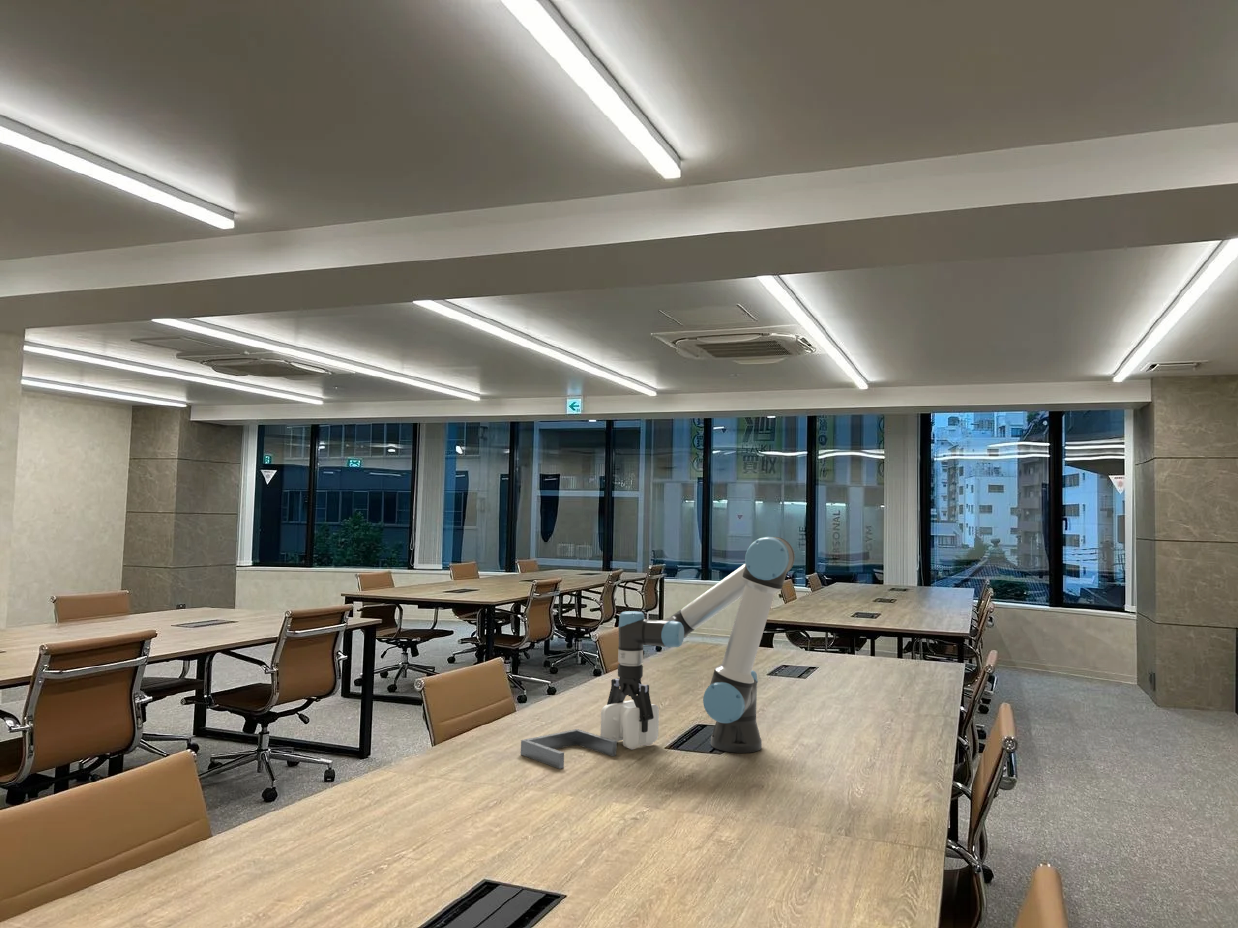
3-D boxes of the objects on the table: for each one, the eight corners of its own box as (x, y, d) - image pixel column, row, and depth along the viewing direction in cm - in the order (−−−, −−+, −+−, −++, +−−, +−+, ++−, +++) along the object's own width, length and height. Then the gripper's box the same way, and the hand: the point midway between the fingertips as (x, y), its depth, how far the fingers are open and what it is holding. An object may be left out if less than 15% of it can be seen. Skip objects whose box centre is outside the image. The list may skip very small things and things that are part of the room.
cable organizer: (624, 752, 240) (625, 711, 241) (598, 744, 248) (599, 704, 248) (658, 743, 251) (659, 703, 252) (632, 736, 258) (633, 698, 259)
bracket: (616, 755, 238) (616, 740, 238) (559, 768, 223) (559, 753, 224) (576, 742, 250) (577, 728, 250) (520, 754, 236) (521, 739, 236)
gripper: (595, 659, 257) (593, 733, 255) (649, 670, 240) (647, 749, 239) (613, 657, 262) (611, 729, 260) (667, 667, 245) (665, 744, 244)
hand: (628, 739), depth 250 cm, fingers closed on cable organizer, 10 cm apart
